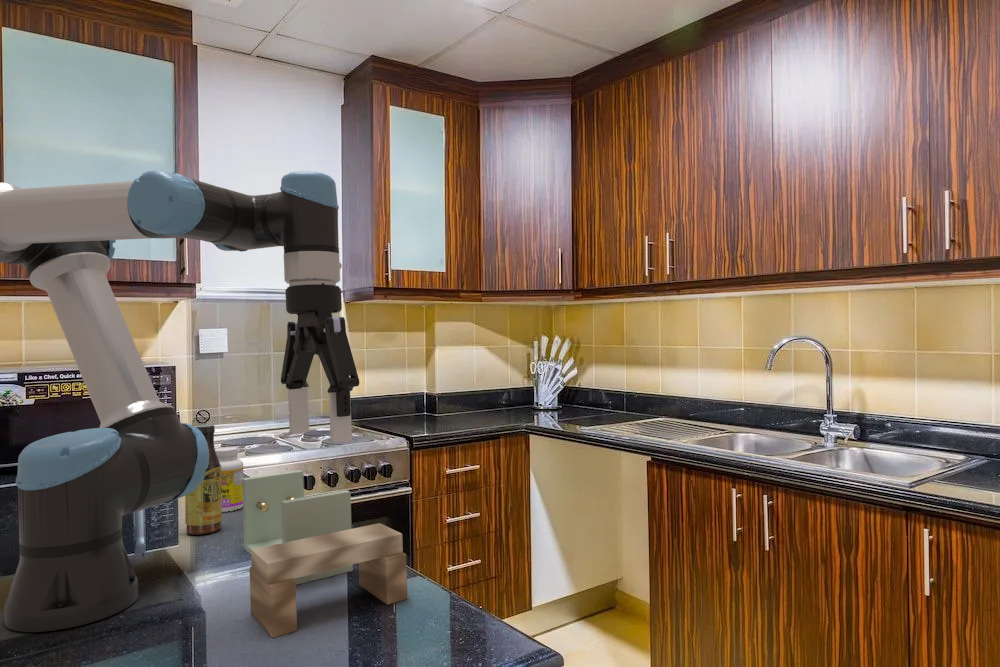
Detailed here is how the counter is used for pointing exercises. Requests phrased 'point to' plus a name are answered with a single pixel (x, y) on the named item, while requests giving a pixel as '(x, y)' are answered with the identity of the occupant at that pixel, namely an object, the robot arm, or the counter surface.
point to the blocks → (279, 599)
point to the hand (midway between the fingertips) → (319, 437)
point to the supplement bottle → (230, 478)
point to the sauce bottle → (206, 493)
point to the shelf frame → (291, 514)
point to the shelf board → (324, 552)
